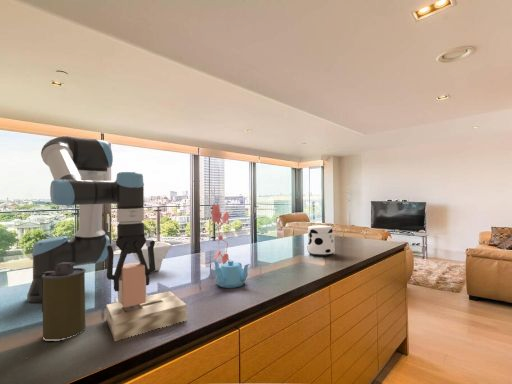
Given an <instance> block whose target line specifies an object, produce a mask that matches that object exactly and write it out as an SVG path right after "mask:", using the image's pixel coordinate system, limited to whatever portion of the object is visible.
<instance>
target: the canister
mask: <svg viewBox="0 0 512 384" xmlns="http://www.w3.org/2000/svg"><path fill="white" fill-rule="evenodd" d="M73 265H75V262H62V263H60V264H57V265H56V266H55V271H47V272H44V273H42V302H41V312H42V336H43V337H44V338H45V339H62V338H67V337H70V336H73V335H76V334H78V333H80V332H82V331H83V330H85V328H86V329H87V325H86V283H85V282H86V280H85V279H86V278H85V277H86V276H85V275H86V274H85V273H86V271H87V270H86V269H85V268H83V267H74V266H73ZM85 331H86V330H85ZM82 333H83V332H82Z"/></svg>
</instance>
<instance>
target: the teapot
mask: <svg viewBox="0 0 512 384" xmlns="http://www.w3.org/2000/svg"><path fill="white" fill-rule="evenodd" d="M212 261H213V262H214V273H215V283H216V284H217V285H218V286H219V287H220V288H222V289H223V288H224V289H233V288H234V289H235V288H240V287H241V286H243V285H244V284H245V283H246V281H247V279H248V278H247V277H248V274H249V273H248V267H249V266H250V265H251V263H247V264H245V265H244V267H243V264H242V263H241V262H238V261H237V262H234V260H230V261H228V260H227V262H226V263H225V264H223V263H222V264H221V266H220V265H219V262H218V260H217V259H216V260H214V258H213V259H212Z"/></svg>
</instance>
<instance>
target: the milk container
mask: <svg viewBox="0 0 512 384" xmlns="http://www.w3.org/2000/svg"><path fill="white" fill-rule="evenodd" d="M333 229H334V228H333V226H332V225H323V224H322V225H309V226H308V227H307V238H308V241H307V244H306V245H307V246H306V248H307V252H308V254H310V255H312V256H320V257H326V256H331V255H334V253H335V249H336V247H335V242H334V230H333Z"/></svg>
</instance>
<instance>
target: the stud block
mask: <svg viewBox="0 0 512 384" xmlns="http://www.w3.org/2000/svg"><path fill="white" fill-rule="evenodd" d="M120 279H121V280H122V303H121V304H122V306H123V307H127V308H126V312H129V311H134V310H138V309H139V306H138V304H142V303H146V299H145V265H143V264H141V263H140V262H138V261H137V262H135V261H134V262H129V263H124V265H123V267H122V271H121V274H120Z"/></svg>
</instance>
